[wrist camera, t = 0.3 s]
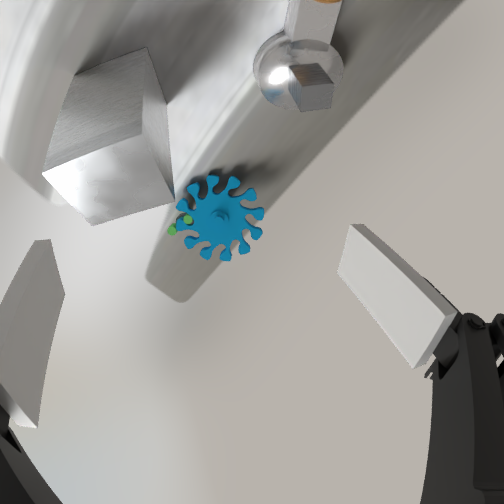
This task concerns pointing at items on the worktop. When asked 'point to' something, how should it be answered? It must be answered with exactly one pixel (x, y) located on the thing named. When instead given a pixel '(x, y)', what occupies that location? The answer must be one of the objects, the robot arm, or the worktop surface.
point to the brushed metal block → (113, 141)
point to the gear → (217, 218)
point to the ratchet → (301, 58)
